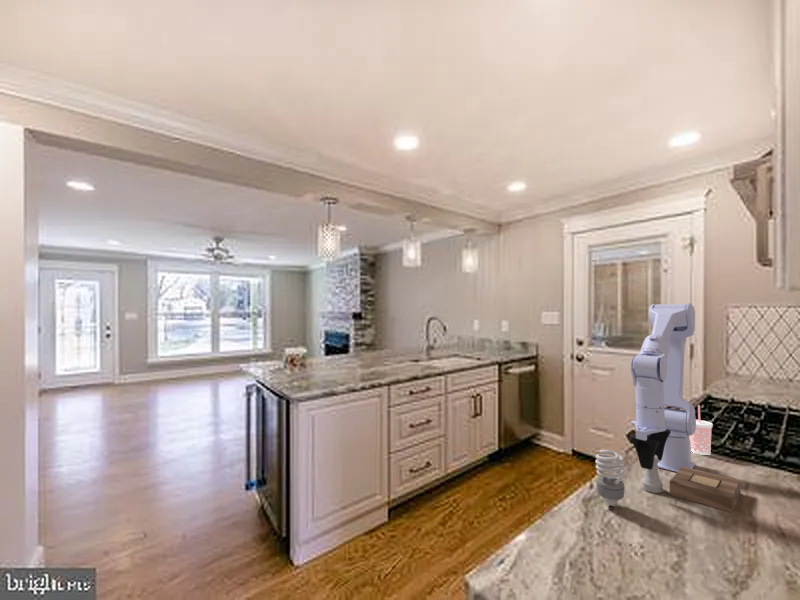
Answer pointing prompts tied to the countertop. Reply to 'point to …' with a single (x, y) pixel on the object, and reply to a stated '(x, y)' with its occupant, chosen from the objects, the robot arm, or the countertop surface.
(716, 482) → the brass plunger
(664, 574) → the countertop surface
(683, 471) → the socket block
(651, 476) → the rook chess piece
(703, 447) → the beverage cup
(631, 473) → the countertop surface
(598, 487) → the light bulb
